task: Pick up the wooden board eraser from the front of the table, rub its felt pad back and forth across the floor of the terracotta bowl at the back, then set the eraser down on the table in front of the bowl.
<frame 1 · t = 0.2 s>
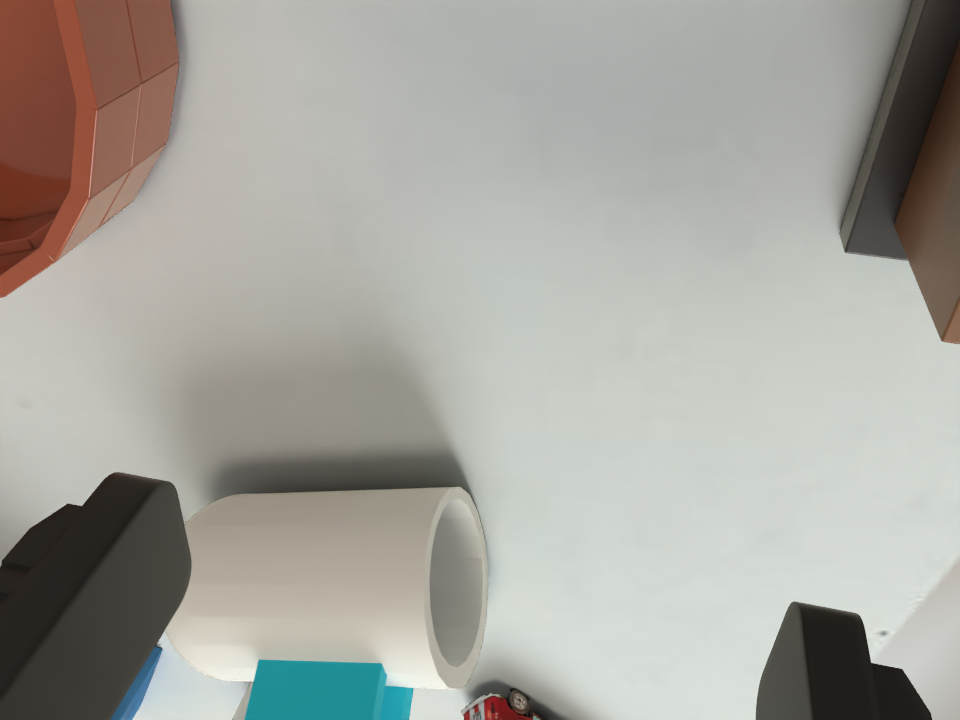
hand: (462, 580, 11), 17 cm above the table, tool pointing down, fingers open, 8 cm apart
perfume bottle: (100, 650, 47), on the table
mug: (358, 548, 38), on the table
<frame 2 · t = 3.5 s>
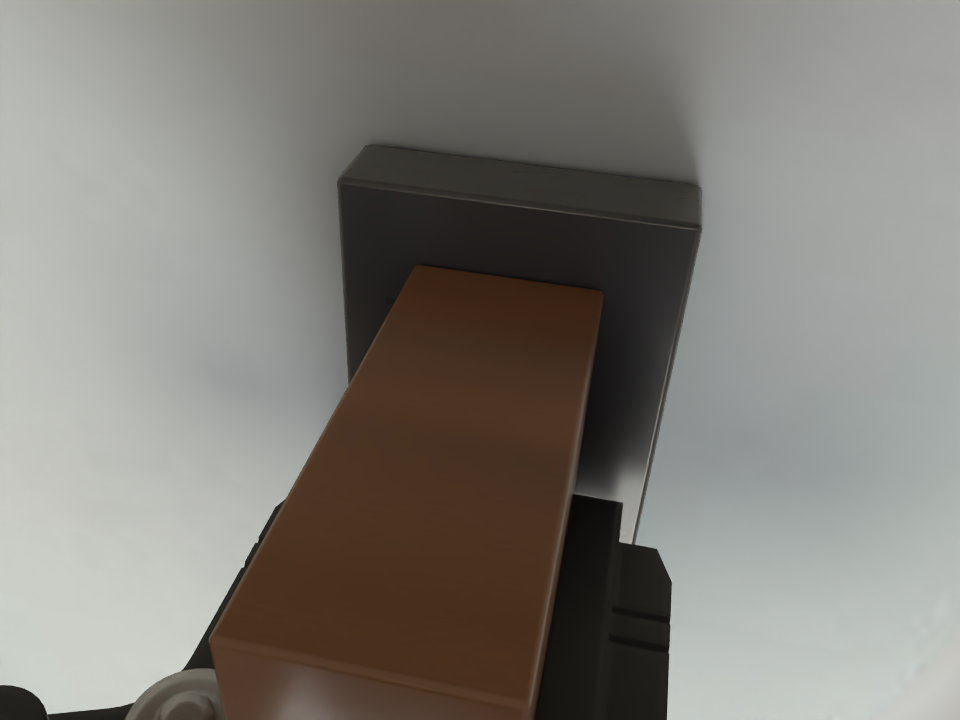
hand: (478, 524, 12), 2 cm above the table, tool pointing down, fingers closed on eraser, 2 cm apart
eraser: (507, 430, 14), on the table, touching gripper
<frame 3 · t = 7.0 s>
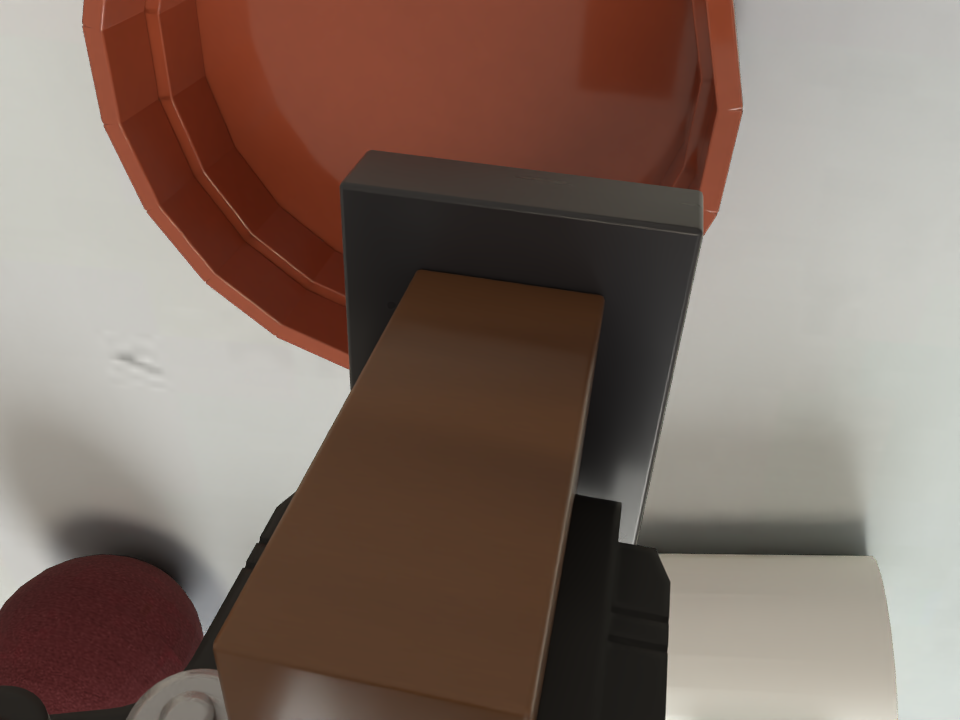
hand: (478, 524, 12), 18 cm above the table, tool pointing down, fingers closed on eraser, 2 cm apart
decorative ball: (151, 577, 46), on the table
bowl: (441, 60, 26), on the table
mug: (716, 604, 38), on the table
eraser: (509, 433, 14), point 16 cm above the table, touching gripper
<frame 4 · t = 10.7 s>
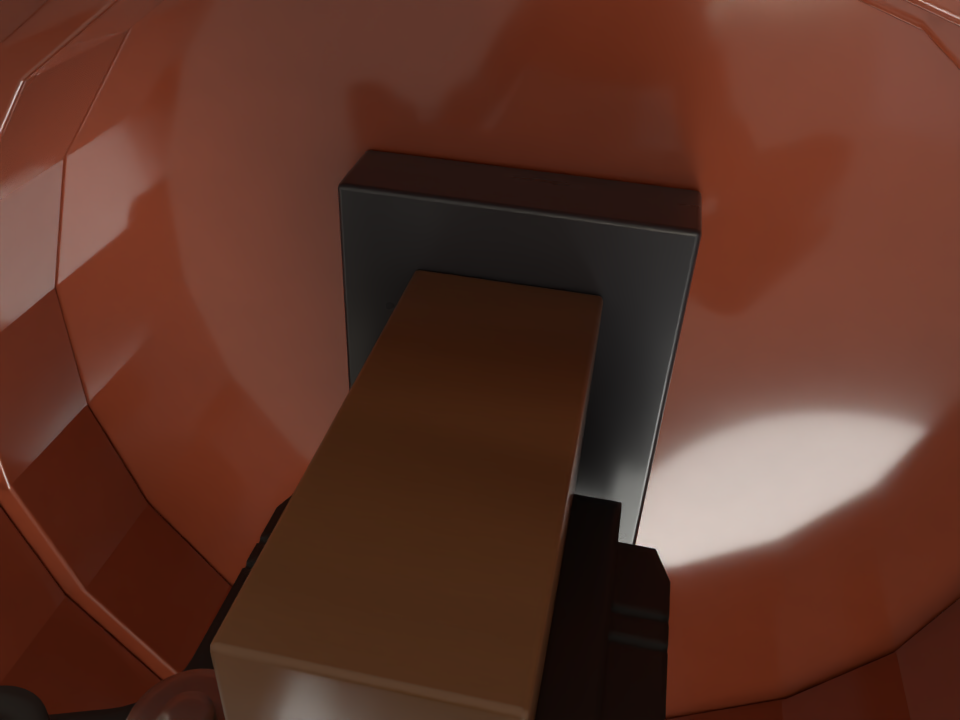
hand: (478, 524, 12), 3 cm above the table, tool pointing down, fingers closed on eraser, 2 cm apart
bowl: (519, 399, 14), on the table
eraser: (508, 433, 14), point 1 cm above the table, touching gripper
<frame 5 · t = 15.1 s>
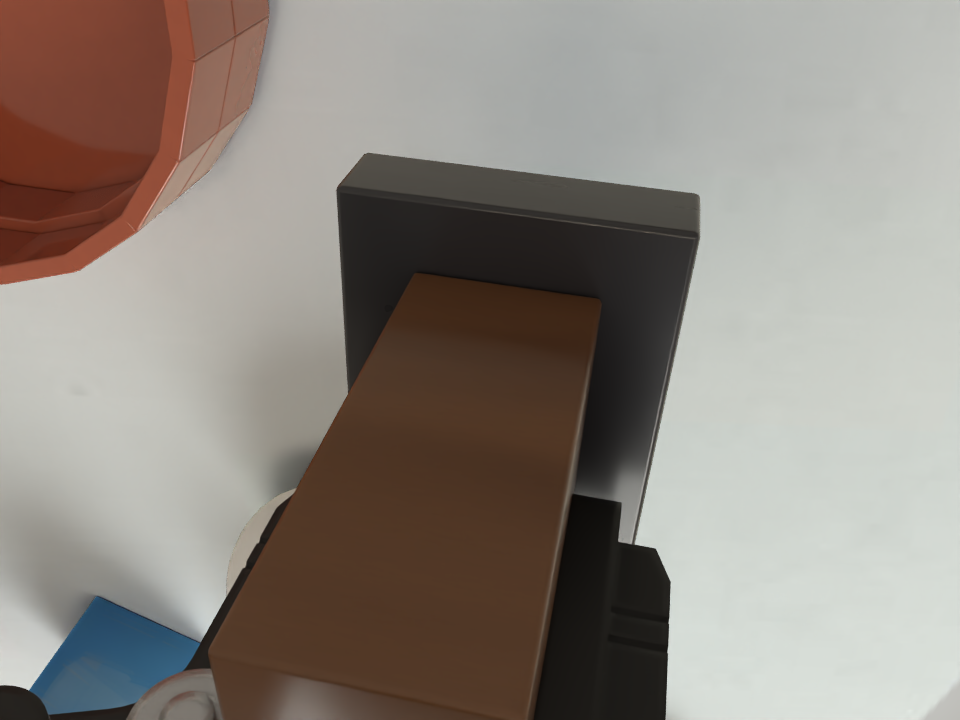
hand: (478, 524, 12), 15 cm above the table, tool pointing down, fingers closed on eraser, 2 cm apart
perfume bottle: (145, 650, 45), on the table
mug: (428, 543, 36), on the table
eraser: (506, 435, 14), point 13 cm above the table, touching gripper
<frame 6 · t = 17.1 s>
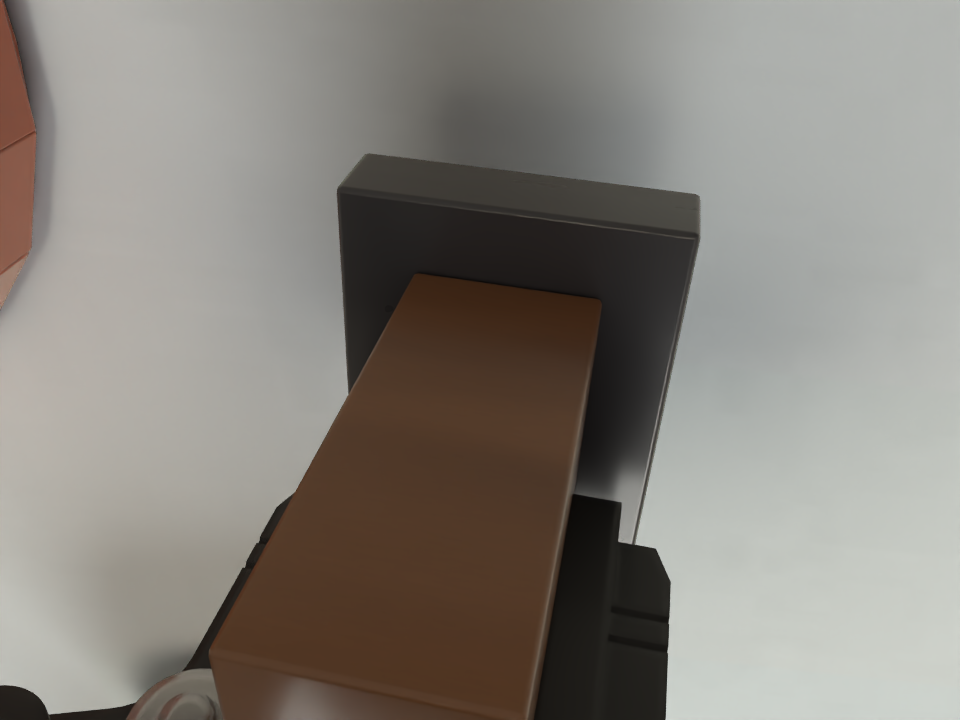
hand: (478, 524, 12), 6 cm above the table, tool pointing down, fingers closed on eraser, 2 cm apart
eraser: (507, 436, 14), point 4 cm above the table, touching gripper
when the fingers open (2 cm above the table, at t = 18.3 s): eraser stays where it is, on the table.
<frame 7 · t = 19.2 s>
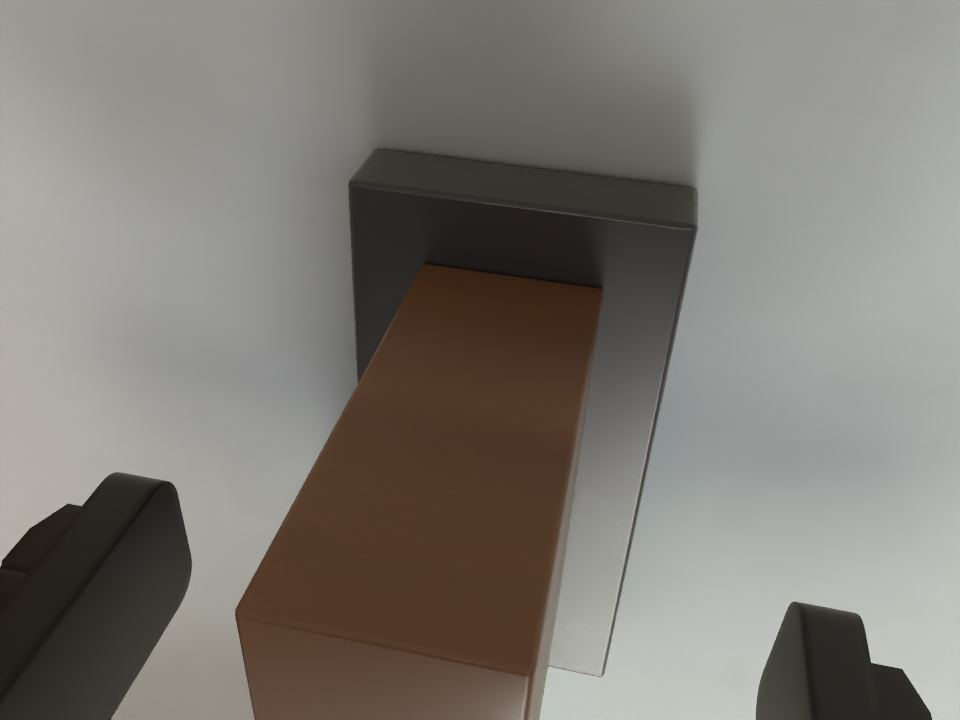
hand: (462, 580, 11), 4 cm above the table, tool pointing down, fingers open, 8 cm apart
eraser: (510, 424, 14), on the table
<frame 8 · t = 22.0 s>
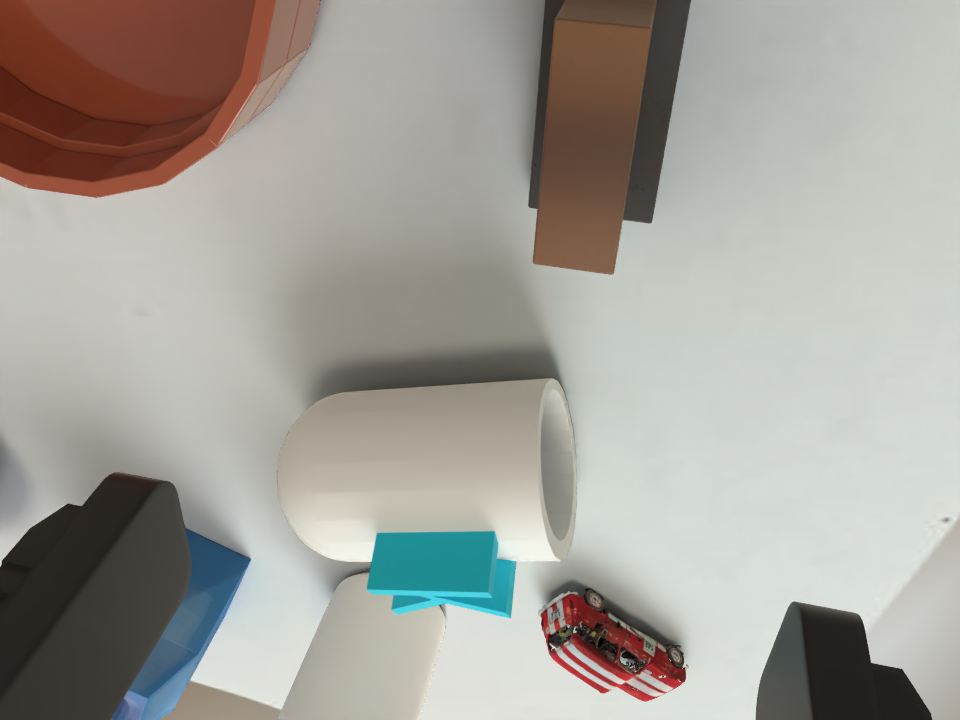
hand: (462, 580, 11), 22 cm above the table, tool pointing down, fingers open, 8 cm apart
can: (391, 604, 48), on the table
toy car: (615, 625, 45), on the table
perfume bottle: (188, 563, 49), on the table
mug: (450, 449, 40), on the table
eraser: (608, 78, 29), on the table
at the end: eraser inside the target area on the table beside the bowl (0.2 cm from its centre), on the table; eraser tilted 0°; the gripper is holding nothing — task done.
